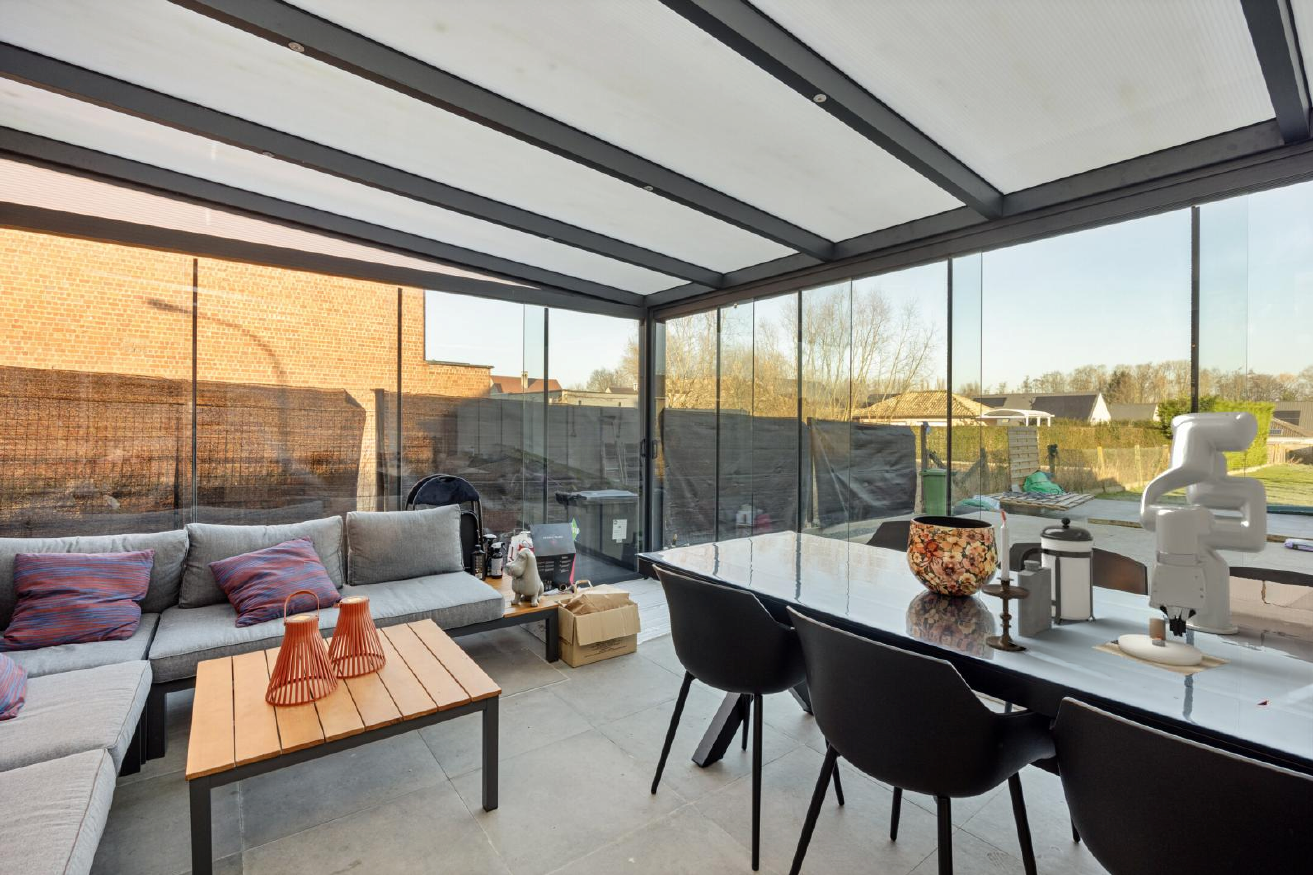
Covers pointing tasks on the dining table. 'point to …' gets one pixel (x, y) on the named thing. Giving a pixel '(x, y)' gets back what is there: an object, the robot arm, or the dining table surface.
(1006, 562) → the candlestick
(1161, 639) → the cream oval with knob
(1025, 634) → the hip flask
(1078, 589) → the coffee press
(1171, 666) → the dial base
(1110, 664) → the dining table surface
